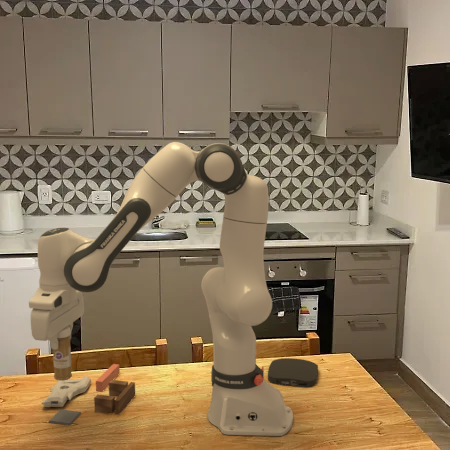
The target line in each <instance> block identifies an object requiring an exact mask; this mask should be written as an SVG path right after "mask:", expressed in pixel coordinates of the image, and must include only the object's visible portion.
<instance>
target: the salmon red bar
mask: <svg viewBox="0 0 450 450" xmlns="http://www.w3.org/2000/svg"><path fill="white" fill-rule="evenodd" d="M120 371H121V370H120V364H116V363H112V364H111V366H110V367H108V368H107V369H106V370H105V371H104V372H103V373H102V374H101V375H100V376H99V377H98V378H97V379H96V380H95V391H96V392H102V391H103V390H104V391H105V390H106V389H107V387H109V382H110V381H111V380H113V379H114V378H115V377H116V376H117V375H118V374H119V373H120ZM119 375H120V374H119ZM119 375H118V376H119ZM118 376H117V377H118ZM117 377H116V378H117ZM116 378H115V379H116ZM115 379H114V380H115ZM104 391H103V392H104Z"/></svg>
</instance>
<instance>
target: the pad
mask: <svg viewBox="0 0 450 450" xmlns="http://www.w3.org/2000/svg"><path fill="white" fill-rule="evenodd" d="M81 415H82V411H78V410H71V409H64V408H63V409H62V408H61V409H58V411H57V412H56V413H55V414H54V415H53V416H51V418H50V419H49V420H48V423H50V424H55V425H63V426H71V425H72V424H74V422H75V421H76V420H77V418H79V417H80V416H81Z"/></svg>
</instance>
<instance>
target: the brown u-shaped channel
mask: <svg viewBox="0 0 450 450" xmlns="http://www.w3.org/2000/svg"><path fill="white" fill-rule="evenodd" d="M134 396H135V397H136V382H134V381H130V382H129V381H127V380H126V381H125V380H118V379H117V380H116V379H114V380H111V381H110V382H109V385H108V395H106V394H99V393H98V394H97V395H95V396H94V397H93V400H94V401H93V402H94V412H96V413H104V414H110V415H113V413H114V415H117V416H119V415H121V413H122V412H123V411H124V410H125V409H126V407H127V406H128V405H129V404H130V402H131V401H132V400H133V399H134V398H135V397H134Z"/></svg>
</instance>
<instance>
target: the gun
mask: <svg viewBox="0 0 450 450" xmlns="http://www.w3.org/2000/svg"><path fill="white" fill-rule="evenodd" d="M91 383H92V378H90V377H88V376H86V375H83V377H82V378H74V379H67V380H63V381H59V380H57V382H56V383H55V384H54V386H52V387H51V388H50V393H49V394H48V396H47V397H45V399H44V400H42V402H41V405H42V406H43V408H51V407H52V408H55V407H56V408H57V407H58V408H63V407H64V406H65V404H66V402H67V401H70V400H71V399H73V397H75V396H76V395H79V394H83V393H85V392H86V391H87V390H88V388H89V387H90V385H91Z"/></svg>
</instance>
